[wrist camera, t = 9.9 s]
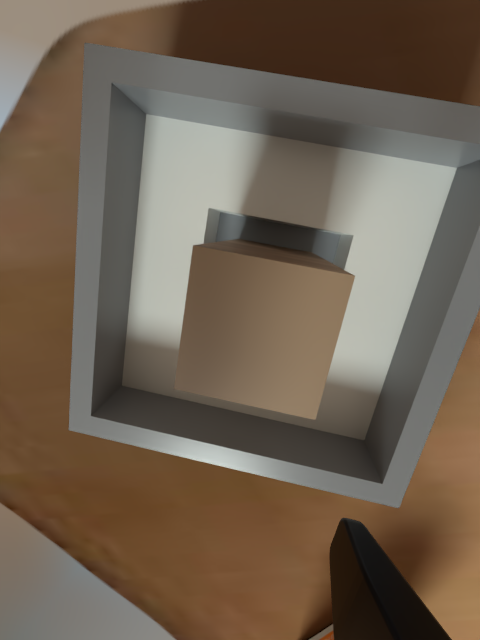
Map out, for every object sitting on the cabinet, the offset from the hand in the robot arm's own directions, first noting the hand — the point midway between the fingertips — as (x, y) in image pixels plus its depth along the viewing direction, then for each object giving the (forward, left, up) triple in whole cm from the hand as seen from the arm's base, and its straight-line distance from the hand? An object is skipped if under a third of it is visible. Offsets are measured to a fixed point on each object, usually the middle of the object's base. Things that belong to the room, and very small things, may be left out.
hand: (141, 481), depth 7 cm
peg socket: (+1, -3, -13) cm, 14 cm away
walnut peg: (+1, -3, -12) cm, 13 cm away
